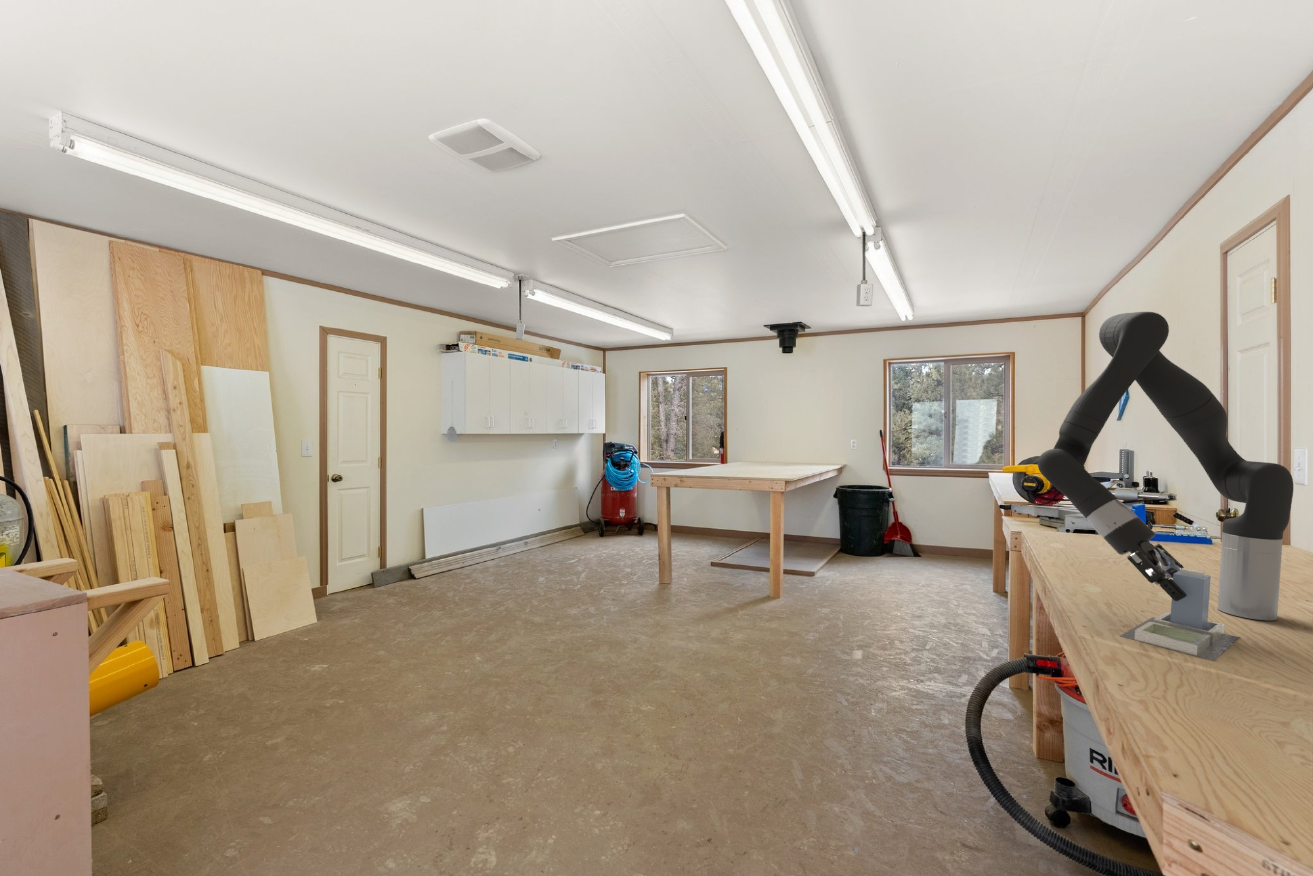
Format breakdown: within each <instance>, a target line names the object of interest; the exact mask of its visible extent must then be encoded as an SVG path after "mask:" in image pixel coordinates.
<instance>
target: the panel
mask: <svg viewBox="0 0 1313 876" xmlns="http://www.w3.org/2000/svg"><path fill="white" fill-rule="evenodd" d="M1170 619H1171V611H1165V612H1164V613H1162V614H1160V615H1158V616H1157V617H1154V616H1152V617H1151V618H1149V619H1147V620H1146V621H1144V622H1142V623H1141V624H1139V625H1136V626H1134V627H1133V628H1132V629H1130V630H1128V631H1126V632H1124V633H1123V634H1120V635H1119V637H1121V638H1125V639H1127V640H1132V641H1136V642H1140V643H1142V644H1143V643H1144V644H1147V645H1152V646H1155V647H1159V648H1163V649H1167V650H1171V651H1174V652H1179V653H1181V654H1186V655H1190V656H1192V657H1193V656H1194V657H1196V658H1197V657H1198V658H1202V659H1205V660H1210V661H1213V662H1214V661H1216V660H1217V659H1219V656H1221V655H1222V654H1224V652H1226V651H1227V650H1228V649H1229V648H1230V647H1232V646H1233V645H1234V644H1235V643H1236V642H1237V641H1238V640H1239V639H1241V636H1236V635H1232V634H1227V633H1225V627H1226V626H1225V624H1224V623H1219V622H1216V621H1215V622H1213V621H1209V620H1208V624H1207V631H1206V630H1202V629H1198V628H1194V627H1189V626H1185V625H1181V624H1176V623H1172V622H1170Z"/></svg>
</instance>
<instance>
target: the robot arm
mask: <svg viewBox="0 0 1313 876" xmlns="http://www.w3.org/2000/svg"><path fill="white" fill-rule="evenodd" d="M1169 333H1170V327H1169V323H1168V321H1167V320H1166V318H1165V317H1164V316H1162V314H1160V313H1158V312H1154V311H1137V312H1136V311H1135V312H1124V313H1120V314H1115V315H1112V316H1110V317H1108V318H1107V319H1105V320H1104V321H1103V323H1102V324H1101V326H1100V328H1099V332H1098V335H1099V336H1098V338H1099V342H1100V344H1101V347H1102V348H1103V349H1104V350H1105V352H1106V353H1107V354H1108V355H1109V356H1111V357H1112V358H1111V359H1110V361H1109V363H1108V364H1107V366H1106V367H1105V369H1104V370H1103V371H1102V373H1100V375H1099V376H1098V377H1097V378H1096V379H1094V381H1093V382H1092V383H1091V384H1090V385H1089V386H1088V387H1087V388H1086V389H1084V391H1083V392H1082V393H1080V395H1079V396H1078V397H1077V399H1076V400H1075V401H1074V402H1073V404H1072V406H1071V407H1070V409H1069V411H1068V413H1067V414H1066V416H1065V417H1064V419H1063V422H1062V423H1061V425H1060V427H1059V431H1058V436H1059V437H1058V439H1057V441H1056V443H1055V445H1054V447H1053V448H1051V449H1048V450H1045V451H1044V452H1042V453H1041V454H1040V455H1039V458H1038V460H1037V468H1038V470H1039V473H1040V474H1041V475H1042V476H1043V477H1044V478H1045V479H1046V480H1047V481H1048V482H1049V483H1050V484H1051V485H1052V486H1054V488H1056V489H1057V491H1059V492H1060V493H1062V495H1064V496H1065V497H1066V498H1067V499H1068V500H1069V502H1071V503H1072V505H1073V507H1074V508H1075V509H1076V510H1077V511H1079V513H1080V514H1081V515H1082V516H1083V517H1084V518H1085V519H1086V520H1087V521H1088V523H1089V524H1090V525H1091V527H1092V528H1093V529H1094V530H1095V531H1096V532H1097V533H1098V534H1099V536H1101V537H1102V538H1103V539H1104V540H1105V542H1106V543H1107V544H1109V545H1110V547H1112V549H1113V550H1114V551H1115V552H1116V553H1118V555H1121V556H1122V555H1126V554H1129V553H1130V554H1129V555H1128V556H1126V558H1127V560H1128V561H1129V562H1130V563H1131V564H1132V565H1133V566H1134V567H1135V569H1136V570H1138V572H1139V573H1140V574H1141V575H1142V576H1143V577H1144V578H1145V579H1146V580H1147V581H1148V582H1149V583H1150V584H1153V583H1154V585H1156V586H1159V587H1160V588H1162V590H1163V591H1164V592H1165V593H1166V594H1167V595H1168V596H1169V597H1170V598H1171V600H1172V599H1173V600H1174V601H1179V600H1181V599H1183V598H1185V597H1186V596H1187V594H1186V593H1185V592H1184V591H1183V590H1182V589H1181V588H1180V587H1179V586H1178V585H1177V584H1176V583H1175V582H1174V581H1173V573H1176V572H1178V571H1180V569H1182V568H1184V566H1183V564H1181V563H1180V562H1179V561H1178V560H1177V559H1176V558H1175V557H1174V556H1172V554H1171V553H1169V552H1168V551H1167V550H1166V549H1165V548H1164V547H1163V546H1162V545H1161V544H1160V543H1157V544H1155V545H1153V544H1152V543H1151V542H1150V540H1152V539H1154V537H1155V536H1156V533H1155V531H1153V529H1151V528H1150V527H1149V526H1148V525H1147V524H1146V523H1145V522H1144V521H1143V520H1142V519H1141V518H1140V517H1139V516H1138V515H1136V513H1135V512H1133V510H1132V509H1131V508H1130V507H1129V506H1127V505H1126V504H1125V503H1123V502H1122V501H1121V500H1119V499H1118V498H1117V496H1115V494H1113V493H1112V492H1111V491H1110V490H1109V488H1107V487H1106V486H1105V485H1104V484H1102V483H1101V482H1100V481H1099V480H1097V479H1096V478H1094V477H1093V476H1092V475H1091V474H1090V473H1089V472H1088V470H1086V468H1085V467H1084V466H1085V463H1086V462H1087V459H1088V457H1089V454H1090V452H1091V449H1092V446H1093V444H1094V443H1095V441H1096V440H1097V438H1098V436H1099V435H1100V434H1101V432H1102V430H1103V428H1104V427H1105V424H1106V423H1107V421H1108V420H1109V417H1110V416H1111V414H1112V412H1113V411H1114V410H1115V408H1116V406H1117V405H1118V404H1119V402H1120V401H1121V399H1122V397H1124V395H1125V393H1126V392H1127V391H1128V390H1129V388H1130V387H1131V386H1132V385H1133V383H1134V382H1136V383H1137V385H1138V386H1139V387H1140V389H1141V390H1142V391H1143V392H1144V393H1145V395H1146V396H1147V398H1149V400H1150V401H1151V402H1152V403H1153V405H1154V406H1155V407H1156V409H1157V410H1158V411H1159V413H1160V414H1161V415H1162V416H1163V418H1164V419H1165V421H1166V422H1167V423H1168V424H1169V425H1170V426H1171V428H1172V429H1173V430H1174V431H1175V432H1176V433H1177V434H1178V436H1179V437H1180V438H1181V440H1183V442H1184V443H1185V445H1186V446H1187V447H1188V448H1189V449H1190V451H1191V452H1192V453H1193V455H1194V456H1195V457H1196V459H1197V460H1198V462H1199V464H1200V465H1201V467H1202V468H1203V470H1204V471H1205V473H1206V475H1207V476H1208V478H1209V480H1210V481H1211V483H1212V485H1213V486H1214V488H1215V489H1216V490H1217V491H1218V493H1219V494H1221V496H1223V498H1225V499H1228V500H1230V501H1233V502H1238V503H1242V504H1245V506H1244V510H1243V512H1242V514H1240V515H1239V516H1236V517H1231V518H1226V519H1225V520H1223V523H1222V532H1221V534H1222V535H1221V548H1220V549H1221V550H1220V565H1219V567H1220V568H1219V581H1218V582H1219V583H1218V595H1217V610H1219V611H1221V612H1223V613H1226V614H1228V615H1232V616H1237V617H1241V618H1246V619H1252V620H1257V621H1258V620H1259V621H1277V620H1278V611H1279V602H1280V601H1279V597H1280V586H1281V585H1280V583H1281V572H1282V571H1281V569H1282V568H1281V567H1282V552H1283V538H1284V533H1285V531H1286V529H1287V527H1288V525H1289V523H1290V522H1289V521H1290V518H1291V517H1290V516H1291V509H1292V502H1293V497H1294V478H1293V476H1292V474H1291V472H1290V470H1289V469H1288V468H1286V467H1285V465H1282V464H1279V463H1275V462H1264V461H1262V462H1261V461H1250V460H1246V459H1245V458H1243V457H1242V456H1241V455H1240V454H1239V453H1238V452H1237V451H1236V449H1235V448H1234V447H1233V446H1232V445H1231V443H1230V441H1229V439H1228V437H1227V431H1228V414H1227V411H1226V409H1225V407H1224V406H1223V404H1222V403H1221V401H1220V400H1218V398H1217V397H1216V396H1215V394H1214V393H1213V392H1212V391H1211V390H1210V389H1209V387H1208V386H1206V385H1205V384H1204V383H1203V382H1202V381H1201V380H1199V379H1198V378H1196V377H1195V376H1193V375H1192V374H1191V373H1189V372H1187V371H1186V370H1184V369H1183V368H1181V367H1180V366H1178V365H1176V364H1175V363H1174V362H1172V361H1171V360H1170V359H1169V358H1167V357H1166V356H1165V355H1164V353H1162V352H1161V351H1160V350H1161V349H1162V347H1163V346H1164V345H1165V343H1166V341H1167V340H1168V337H1169ZM1184 569H1185V568H1184Z"/></svg>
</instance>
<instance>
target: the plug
mask: <svg viewBox="0 0 1313 876" xmlns="http://www.w3.org/2000/svg"><path fill="white" fill-rule="evenodd" d="M1172 579H1173V581H1174V582H1175V583H1176V584H1177V585H1178V586H1179V587H1180V588H1181V589H1182V590H1183V591H1184V592H1185V593H1186V594H1187V596H1186V597H1185V598H1183V599H1181V600H1179V601H1174V600H1173V599H1172V598H1171V606H1170V613H1171V619H1170V622H1172V623H1176V624H1181V625H1185V626H1189V627H1194V628H1198V629H1202V630H1206V631H1207V624H1208V621H1209V608H1210V607H1209V606H1210V590H1211V575H1209V574H1208V575H1207V574H1205V571H1202V570H1201V571H1200V570H1195V569H1189V568H1182V569H1180V571H1178V572H1176V573H1173V578H1172Z"/></svg>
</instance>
